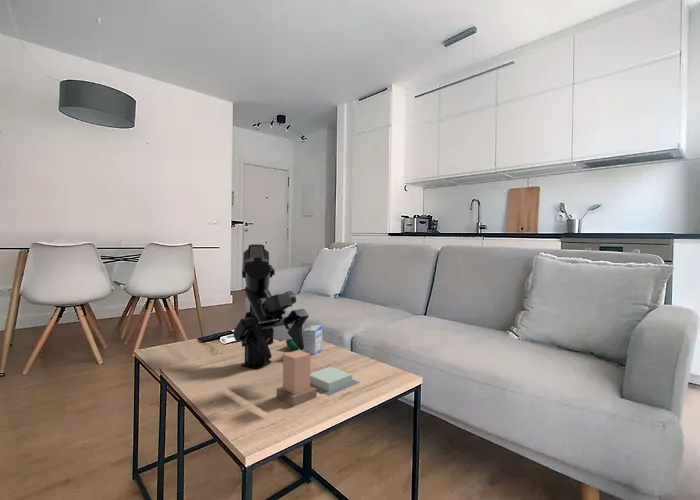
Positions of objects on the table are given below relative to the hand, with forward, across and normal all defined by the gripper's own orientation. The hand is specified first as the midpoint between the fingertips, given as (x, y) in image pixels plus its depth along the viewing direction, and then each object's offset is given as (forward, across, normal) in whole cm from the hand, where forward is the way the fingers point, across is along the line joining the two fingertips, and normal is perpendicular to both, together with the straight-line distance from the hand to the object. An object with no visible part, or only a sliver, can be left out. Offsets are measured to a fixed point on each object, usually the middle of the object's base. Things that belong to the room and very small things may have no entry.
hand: (287, 353), depth 84 cm
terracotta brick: (+8, 0, +3) cm, 8 cm away
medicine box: (-7, +25, +22) cm, 34 cm away
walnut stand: (+10, 0, +5) cm, 11 cm away
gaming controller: (-13, +26, +28) cm, 41 cm away
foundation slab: (+8, +12, +5) cm, 15 cm away
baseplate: (+9, +12, +6) cm, 16 cm away
